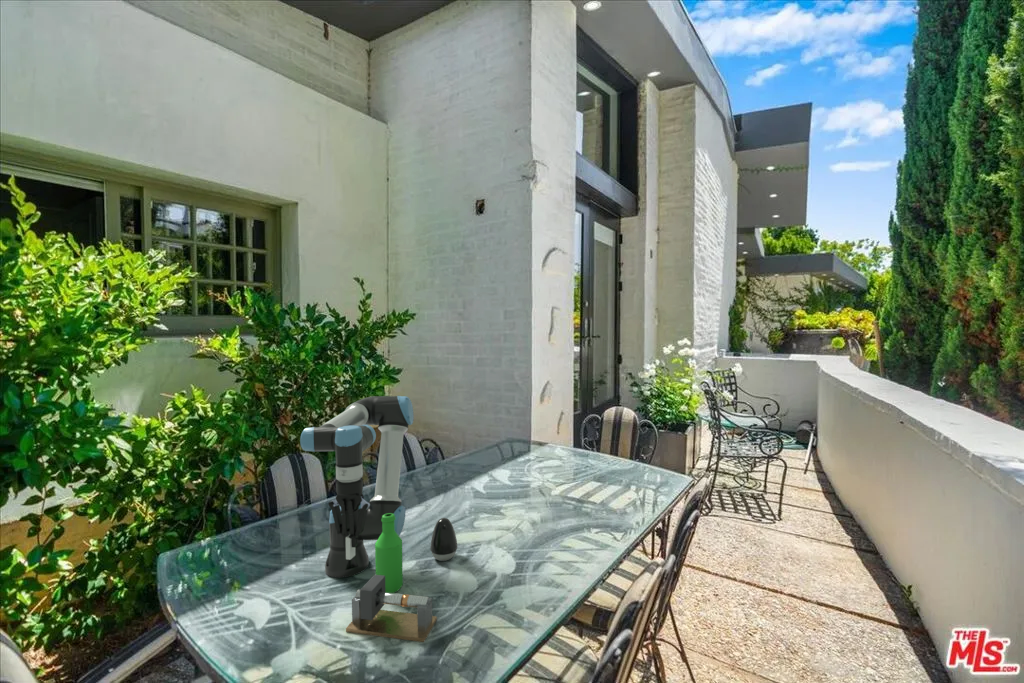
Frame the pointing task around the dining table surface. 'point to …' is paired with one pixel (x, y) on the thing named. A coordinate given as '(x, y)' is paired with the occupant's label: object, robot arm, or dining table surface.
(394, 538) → the bottle
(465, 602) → the dining table surface
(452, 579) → the dining table surface
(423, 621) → the pipe stand
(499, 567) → the dining table surface
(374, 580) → the grey sliding block
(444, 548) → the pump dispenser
